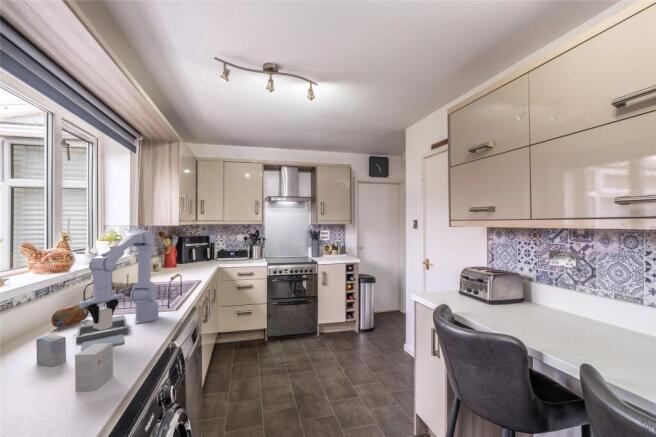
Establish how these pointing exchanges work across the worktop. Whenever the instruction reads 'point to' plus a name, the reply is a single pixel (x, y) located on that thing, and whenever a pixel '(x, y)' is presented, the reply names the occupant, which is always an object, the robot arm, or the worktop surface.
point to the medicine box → (51, 350)
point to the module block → (104, 319)
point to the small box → (93, 366)
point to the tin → (69, 316)
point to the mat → (104, 341)
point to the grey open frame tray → (89, 327)
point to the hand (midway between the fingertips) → (102, 321)
